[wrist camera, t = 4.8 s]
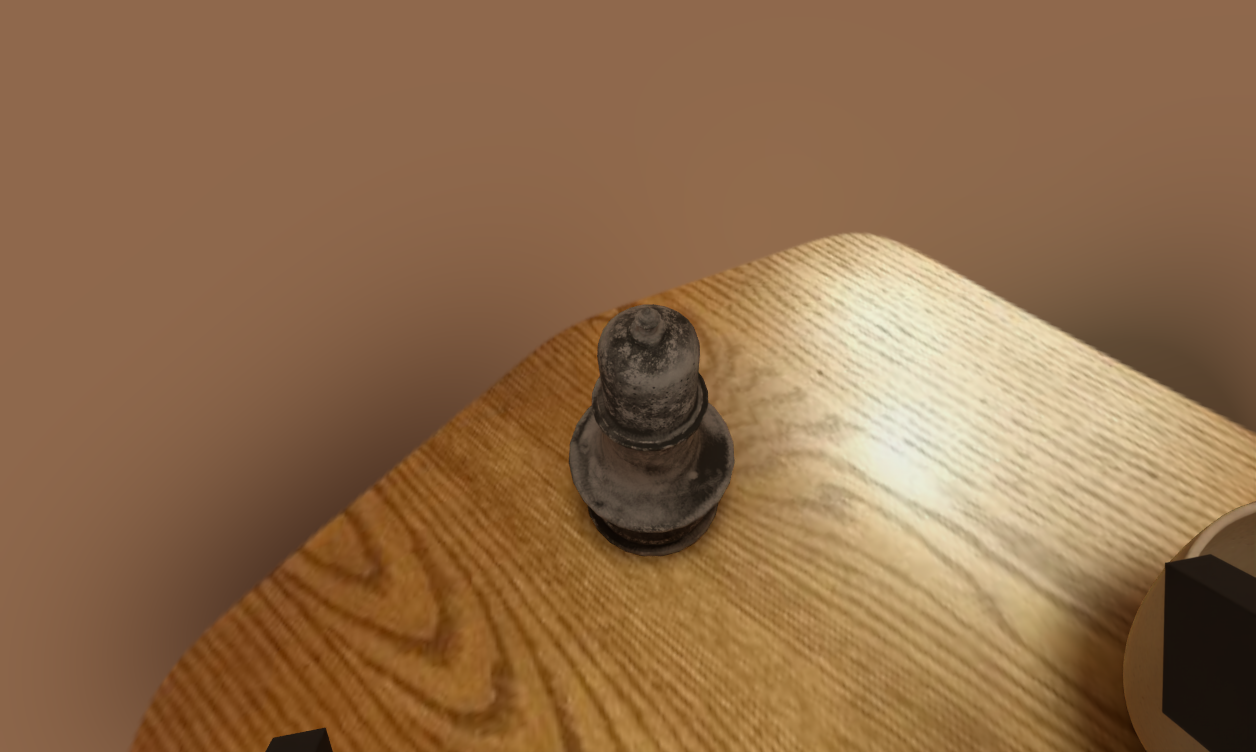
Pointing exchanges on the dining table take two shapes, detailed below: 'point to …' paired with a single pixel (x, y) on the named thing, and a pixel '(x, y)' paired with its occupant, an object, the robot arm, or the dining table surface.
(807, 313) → the dining table surface
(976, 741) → the dining table surface
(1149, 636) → the flower pot
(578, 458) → the grey chess piece
